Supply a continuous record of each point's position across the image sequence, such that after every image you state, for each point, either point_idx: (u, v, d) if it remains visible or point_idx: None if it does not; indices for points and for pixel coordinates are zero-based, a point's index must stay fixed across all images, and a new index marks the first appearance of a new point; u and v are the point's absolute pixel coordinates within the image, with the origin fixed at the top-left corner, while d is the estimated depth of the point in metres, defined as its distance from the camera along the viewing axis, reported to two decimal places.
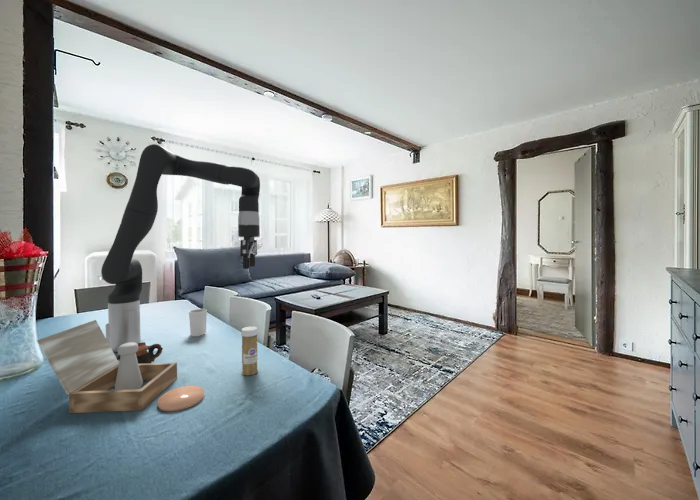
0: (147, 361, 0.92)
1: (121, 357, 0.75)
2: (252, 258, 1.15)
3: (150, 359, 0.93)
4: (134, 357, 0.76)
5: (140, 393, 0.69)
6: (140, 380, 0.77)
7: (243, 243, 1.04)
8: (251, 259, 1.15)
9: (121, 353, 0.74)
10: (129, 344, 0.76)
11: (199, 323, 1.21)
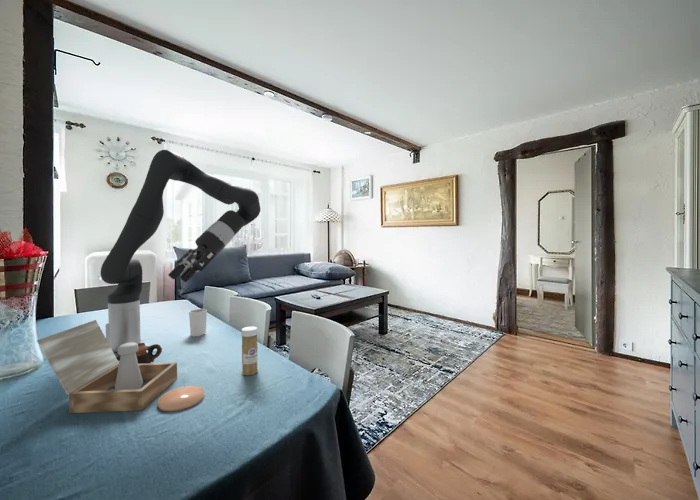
0: (146, 362, 0.91)
1: (121, 357, 0.75)
2: (180, 270, 0.89)
3: (149, 360, 0.93)
4: (134, 357, 0.76)
5: (140, 393, 0.69)
6: (140, 380, 0.77)
7: (209, 255, 0.84)
8: (178, 270, 0.88)
9: (121, 353, 0.74)
10: (129, 344, 0.76)
11: (199, 323, 1.21)
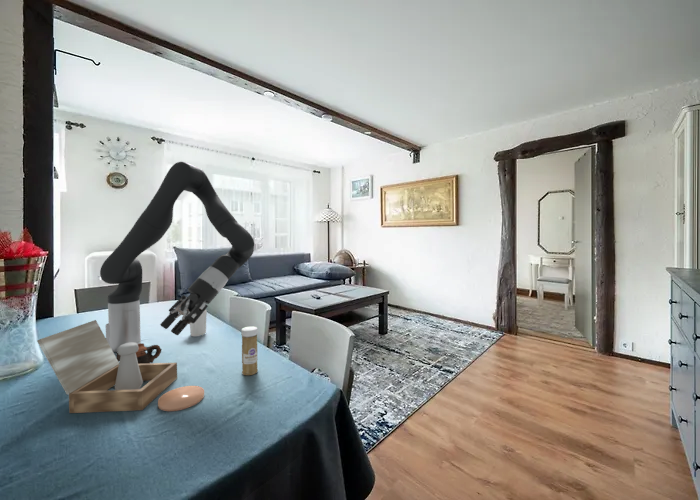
0: (146, 363, 0.91)
1: (121, 357, 0.75)
2: (172, 318, 0.87)
3: (149, 360, 0.92)
4: (134, 357, 0.76)
5: (140, 393, 0.69)
6: (140, 380, 0.77)
7: (201, 306, 0.83)
8: (170, 319, 0.87)
9: (121, 353, 0.74)
10: (129, 344, 0.76)
11: (199, 323, 1.21)
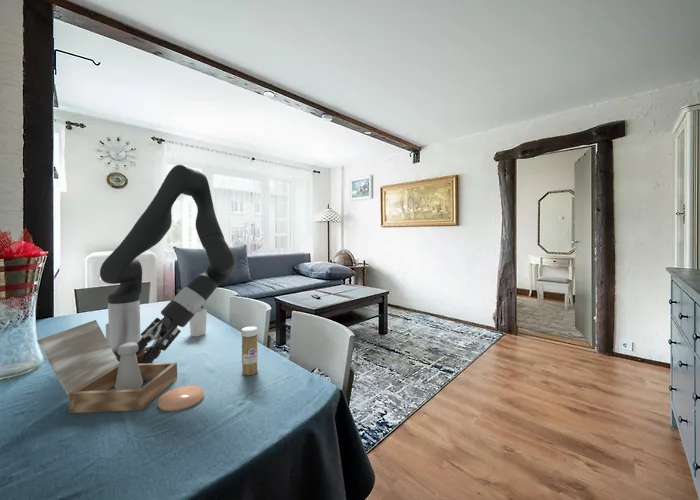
0: None
1: (121, 357, 0.75)
2: (143, 344, 0.82)
3: None
4: (134, 357, 0.76)
5: (140, 393, 0.69)
6: (140, 380, 0.77)
7: (173, 332, 0.78)
8: (141, 344, 0.82)
9: (121, 353, 0.74)
10: (129, 344, 0.76)
11: (199, 323, 1.21)
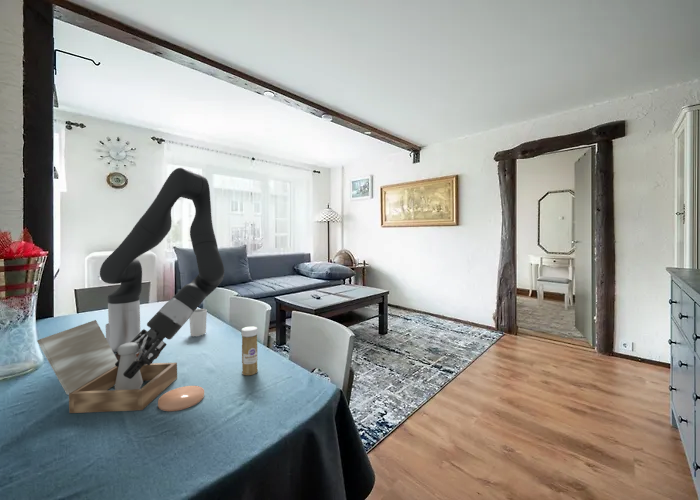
0: None
1: (121, 357, 0.75)
2: None
3: None
4: (134, 357, 0.76)
5: (140, 393, 0.69)
6: (140, 380, 0.77)
7: (158, 346, 0.75)
8: None
9: (121, 353, 0.74)
10: (129, 344, 0.76)
11: (199, 323, 1.21)
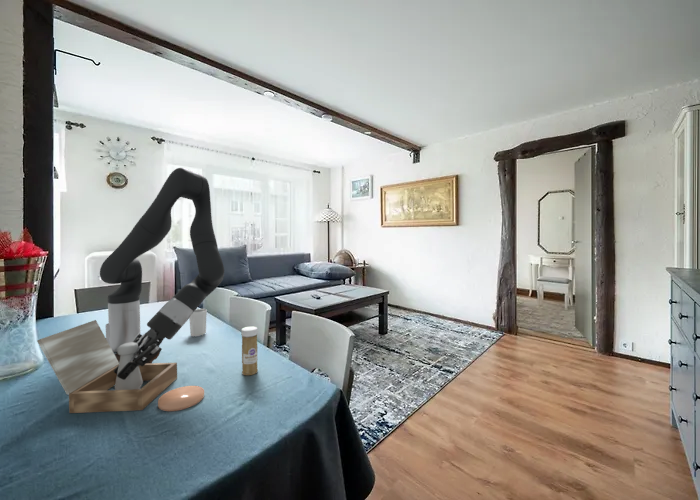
0: None
1: (121, 357, 0.75)
2: None
3: (147, 362, 0.91)
4: None
5: (140, 393, 0.69)
6: (140, 380, 0.77)
7: (152, 351, 0.75)
8: None
9: (121, 353, 0.74)
10: (129, 344, 0.76)
11: (199, 323, 1.21)
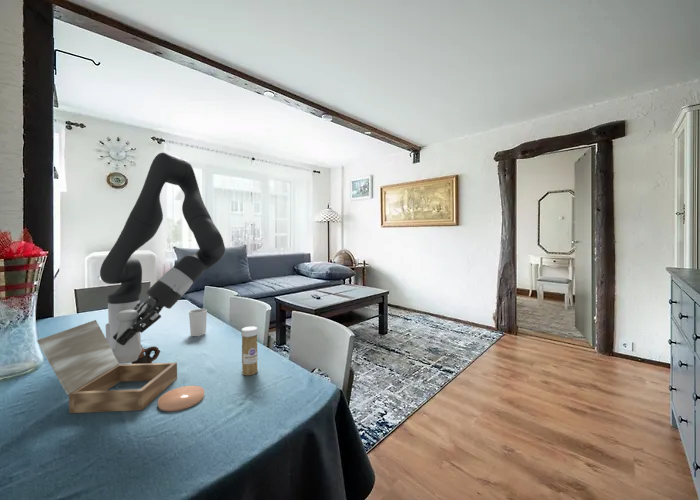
0: None
1: (120, 323, 0.75)
2: None
3: (147, 362, 0.91)
4: None
5: (140, 393, 0.69)
6: (139, 347, 0.77)
7: (152, 317, 0.75)
8: None
9: (120, 319, 0.74)
10: (128, 310, 0.76)
11: (199, 323, 1.21)
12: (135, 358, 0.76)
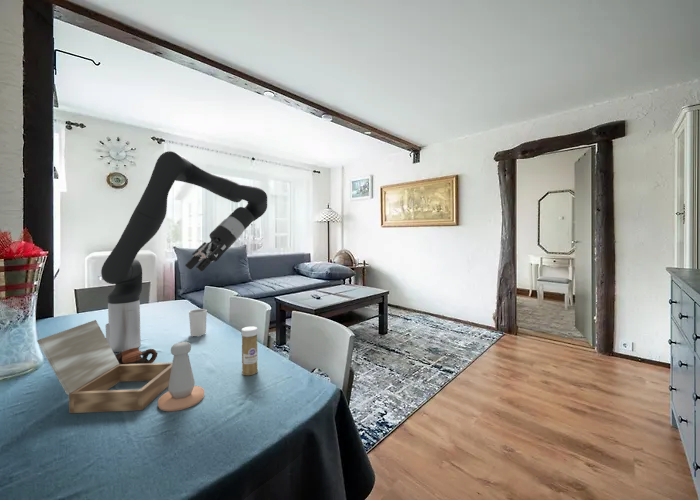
0: None
1: (175, 357, 0.72)
2: (195, 261, 0.97)
3: None
4: (187, 357, 0.74)
5: (140, 393, 0.69)
6: (193, 381, 0.74)
7: (222, 247, 0.93)
8: (193, 261, 0.97)
9: (175, 353, 0.71)
10: (182, 344, 0.73)
11: (199, 323, 1.21)
12: (189, 393, 0.73)
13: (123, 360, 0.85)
